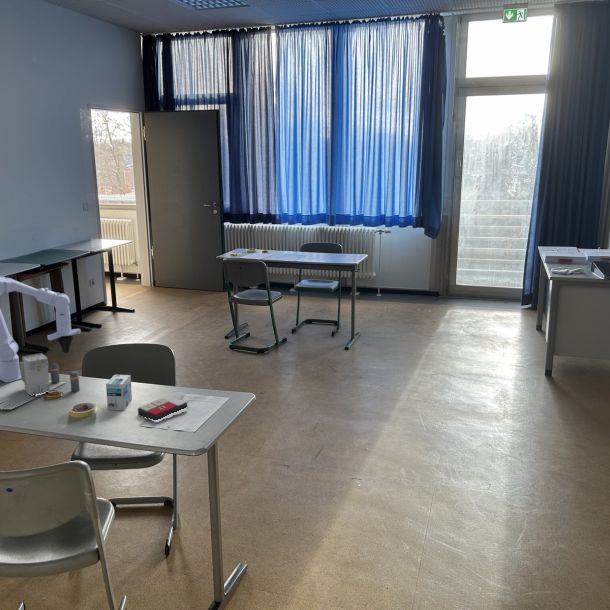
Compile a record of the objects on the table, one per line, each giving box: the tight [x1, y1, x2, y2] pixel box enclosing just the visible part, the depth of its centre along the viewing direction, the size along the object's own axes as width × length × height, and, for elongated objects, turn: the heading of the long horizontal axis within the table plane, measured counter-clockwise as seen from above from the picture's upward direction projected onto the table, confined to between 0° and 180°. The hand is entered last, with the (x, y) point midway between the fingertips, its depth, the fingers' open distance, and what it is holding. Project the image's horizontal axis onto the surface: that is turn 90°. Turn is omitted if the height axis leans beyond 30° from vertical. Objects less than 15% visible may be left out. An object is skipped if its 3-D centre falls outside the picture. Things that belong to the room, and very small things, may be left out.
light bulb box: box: [105, 374, 133, 411], centre depth 234 cm, size 11×7×11 cm, turn 179°
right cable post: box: [69, 370, 80, 393], centre depth 248 cm, size 3×3×8 cm
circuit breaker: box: [19, 352, 51, 396], centre depth 247 cm, size 8×14×15 cm, turn 40°
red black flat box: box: [137, 395, 188, 420], centre depth 229 cm, size 11×4×15 cm
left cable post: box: [49, 362, 61, 384], centre depth 256 cm, size 3×3×8 cm
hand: (65, 352), depth 263 cm, fingers closed
